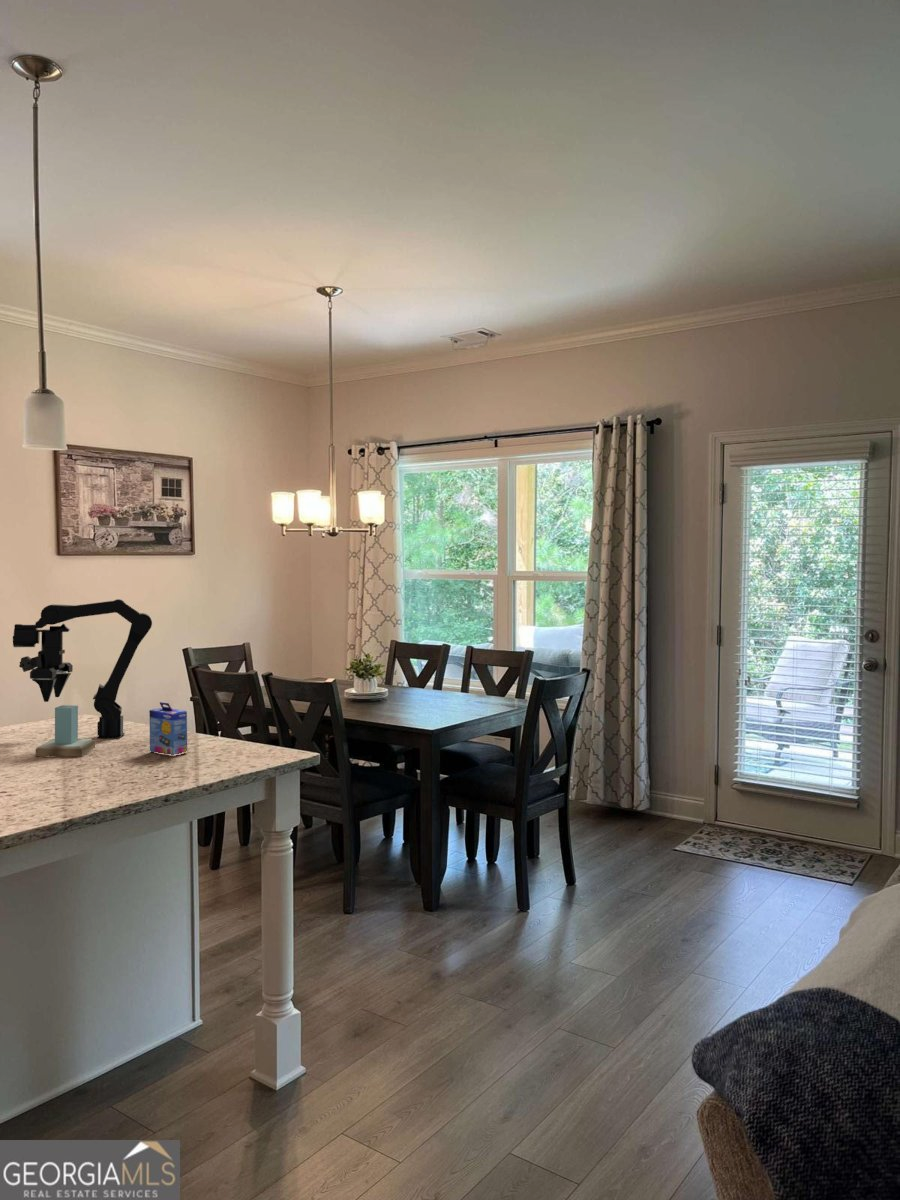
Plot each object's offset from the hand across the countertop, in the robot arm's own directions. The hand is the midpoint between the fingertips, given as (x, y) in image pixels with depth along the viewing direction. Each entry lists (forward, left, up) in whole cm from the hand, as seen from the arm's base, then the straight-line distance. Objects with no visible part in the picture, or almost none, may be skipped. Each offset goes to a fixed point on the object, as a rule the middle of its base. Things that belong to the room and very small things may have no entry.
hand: (51, 699), depth 258 cm
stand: (-10, +18, -12) cm, 24 cm away
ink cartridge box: (-38, +20, -12) cm, 45 cm away
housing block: (-10, +18, -9) cm, 23 cm away
